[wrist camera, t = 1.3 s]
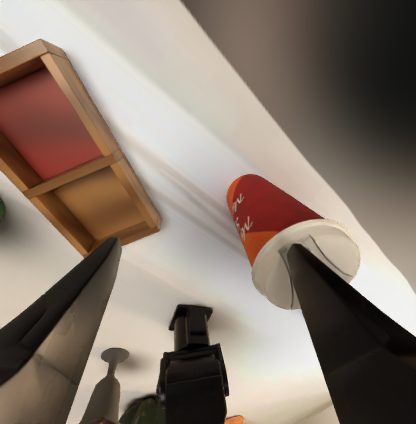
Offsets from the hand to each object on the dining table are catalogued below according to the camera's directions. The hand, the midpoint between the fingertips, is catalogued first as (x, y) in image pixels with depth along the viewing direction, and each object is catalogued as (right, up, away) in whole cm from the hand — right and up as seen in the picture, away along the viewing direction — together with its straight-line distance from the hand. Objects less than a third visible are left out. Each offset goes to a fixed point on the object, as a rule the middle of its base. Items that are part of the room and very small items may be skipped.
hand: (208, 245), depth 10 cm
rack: (-13, +6, +11) cm, 18 cm away
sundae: (-18, -26, +28) cm, 42 cm away
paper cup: (+5, +4, +15) cm, 17 cm away
